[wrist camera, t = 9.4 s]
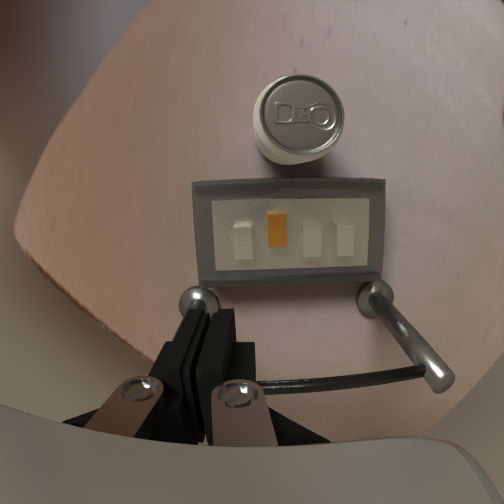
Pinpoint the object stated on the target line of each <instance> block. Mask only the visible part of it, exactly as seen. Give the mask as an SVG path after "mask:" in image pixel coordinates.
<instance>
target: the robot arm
mask: <svg viewBox="0 0 504 504" xmlns="http://www.w3.org/2000/svg"><path fill="white" fill-rule="evenodd" d="M205 433H206V438H207V442H208V445H198V442H201V443H203V441H204V438H205ZM0 504H504V501H503V499H502V497H501V495H500V494H499V492H498V490H497V489H496V487H495V485H494V484H493V482H492V481H491V479H490V478H489V476H488V475H487V473H486V472H485V470H484V469H483V468H482V467H481V465H480V464H479V463H478V462H477V460H475V458H474V457H473V456H472V455H471V454H470V453H469V452H467V451H466V450H465V449H464V448H462V447H460V446H459V445H457V444H455V443H452V442H450V441H446V440H441V439H435V438H426V437H412V436H409V437H383V438H369V439H361V440H352V441H343V442H330V441H329V440H327V439H325V438H323V437H321V436H320V435H318V434H316V433H314V432H312V431H310V430H308V429H306V428H305V427H303V426H301V425H299V424H297V423H295V422H294V421H292V420H290V419H288V418H287V417H285V416H283V415H281V414H280V413H278V412H276V411H274V410H273V409H271V408H269V407H268V406H267V402H266V398H265V394H264V391H263V389H262V388H261V387H260V386H259V385H258V384H257V383H256V365H255V343H254V342H236V329H235V314H234V309H233V308H232V309H218V313H213V314H212V317H211V321H210V314H209V313H205V312H204V309H188V311H187V313H186V315H185V317H184V319H183V321H182V323H181V325H180V327H179V329H178V331H177V333H176V335H175V337H174V340H173V341H167V342H165V344H164V346H163V348H162V350H161V351H160V353H159V355H158V357H157V359H156V361H155V363H154V365H153V367H152V369H151V371H150V373H149V375H148V376H135V377H132V378H129V379H127V380H125V381H123V382H122V383H121V384H120V385H119V386H118V387H117V388H116V389H115V391H114V392H113V393H112V394H111V395H110V397H109V398H108V399H107V400H106V401H105V403H104V404H103V405H102V406H101V407H100V408H98V409H96V410H93V411H91V412H88V413H85V414H82V415H80V416H77V417H74V418H71V419H68V420H65V421H63V422H57V421H53V420H49V419H46V418H43V417H39V416H36V415H33V414H30V413H26V412H24V411H20V410H18V409H14V408H11V407H8V406H5V405H2V404H0Z"/></svg>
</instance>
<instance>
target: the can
mask: <svg viewBox="0 0 504 504" xmlns="http://www.w3.org/2000/svg"><path fill="white" fill-rule="evenodd" d="M343 126H344V110H343V106H342V103H341V100H340V98H339V97H338V95H337V93H336V92H335V91H334V90H333V89H332V88H331V87H330V86H329V85H328V84H327V83H325V82H324V81H322V80H320V79H318V78H316V77H313V76H310V75H304V74H295V75H289V76H286V77H283V78H280V79H278V80H276V81H274V82H272V83H271V84H269V85H268V86H267V87H266V88H265V89H264V90H263V91H262V92H261V94H260V95H259V97H258V99H257V101H256V104H255V107H254V113H253V127H254V137H255V141H256V144H257V147H258V148H259V150H260V152H261V153H262V154H263V155H264V156H265V157H266V158H268V159H269V160H271V161H272V162H275V163H278V164H282V165H294V164H300V163H305V162H309V161H313V160H316V159H318V158H321V157H323V156H324V155H326V154H327V153H328V152H330V151H331V150H332V149H333V148H334V147H335V145H336V144H337V142H338V141H339V139H340V137H341V134H342V131H343Z"/></svg>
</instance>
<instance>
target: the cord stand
mask: <svg viewBox="0 0 504 504" xmlns="http://www.w3.org/2000/svg"><path fill="white" fill-rule="evenodd" d="M393 297H394V296H393V291H392V289H391V287H390V286H389V285H388V284H387V283H386V282H384V281H382V280H381V281H368V282H367V283H365V284H364V285H363V286H362V287H361V288H360V290H359V291H358V294H357V298H356V302H357V306H358V308H359V309H360V311H361V312H362V313H363V314H364V315H365V316H367V317H379V318H380V320H381V321H382V322H383V324H384V325H385V326H386V327H387V329H388V330H389V331H390V333H391V334H392V335H393V337H394V338H395V339H396V341H397V342H398V343H399V345H400V346H401V347H402V349H403V350H404V351H405V353H406V354H407V355H408V357H409V358H410V360H411V361H412V362H413V364H414V365H415V366H410V367H404V368H398V369H392V370H385V371H378V372H371V373H363V374H354V375H345V376H335V377H324V378H312V379H297V380H277V381H256V383H257V384H258V385H259V386H260V387H261V388H262V389H263V391H264V394H265V395H274V394H294V393H309V392H322V391H332V390H342V389H351V388H359V387H366V386H374V385H380V384H387V383H393V382H399V381H405V380H410V379H415V378H421V377H424V379H425V380H426V382H427V383H428V385H429V386H430V387H431V389H432V390H433V392H434V393H436V394H440V393H443V392H445V391H447V390H448V389H449V388H450V387H451V386H452V384H453V383H454V381H455V374H454V373H453V372H452V370H451V369H450V368H449V367H448V366H447V364H446V363H445V362H444V361H443V360H442V359H441V358H440V356H439V355H438V354H437V353H436V352H435V351H434V350H433V348H432V347H431V346H430V345H429V344H428V343H427V342H426V340H425V339H424V338H423V337H422V336H421V335H420V334H419V333H418V332H417V330H416V329H415V328H414V327H413V326H412V325H411V324H410V323H409V322H408V321H407V319H406V318H405V317H404V316H403V315H402V314H401V313H400V312H399V311H398V310H397V309H396V308H395V307H394V305H393V304H392V302H393ZM188 309H204V312H205V313H209V314H210V321H211V317H212V314H213V313H217V312H218V309H219V302H218V299H217V297H216V295H215V294H214V293H213V292H212V291H211V290H209V289H208V288H199V286H194V287H191V288H189V289H187V290H186V291H185V292H184V293H183V295H182V296H181V298H180V300H179V310H180V313H181V315H182V316H183V319H184V317H185V315H186V313H187V311H188ZM183 319H182V321H183ZM182 321H181V323H182ZM181 323H180V325H181ZM180 325H179V327H180ZM179 327H178V329H179ZM178 329H177V331H178ZM177 331H176V333H177ZM176 333H175V335H176ZM174 337H175V336H174ZM173 340H174V338H173ZM173 340H172V341H173Z"/></svg>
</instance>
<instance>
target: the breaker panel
mask: <svg viewBox="0 0 504 504" xmlns="http://www.w3.org/2000/svg"><path fill="white" fill-rule="evenodd" d="M192 199H193V215H194V230H195V243H196V256H197V268H198V279H199V288H209V287H252V286H282V285H308V284H330V283H349V282H367V281H381V275H382V262H383V247H384V227H385V179H375V178H336V177H302V178H256V179H231V180H212V181H198V182H192Z"/></svg>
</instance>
